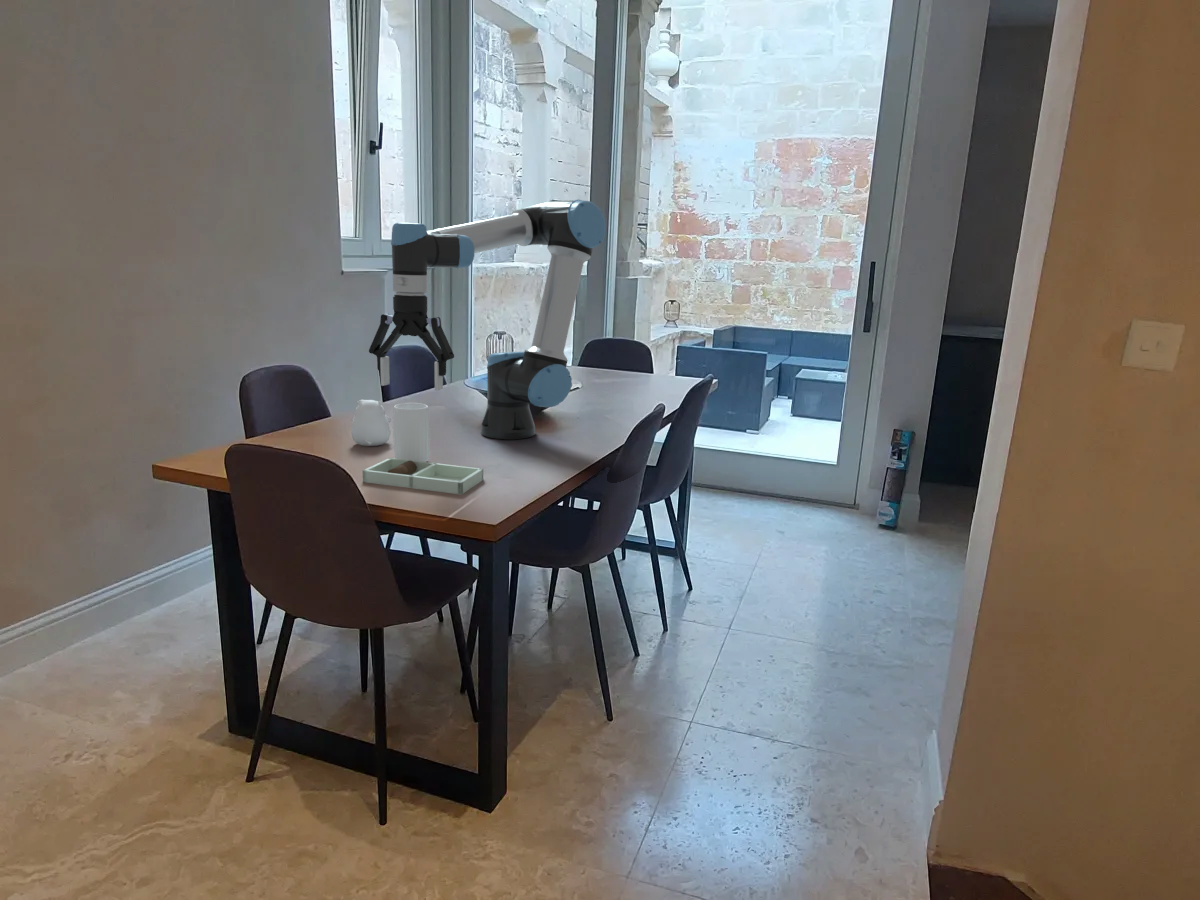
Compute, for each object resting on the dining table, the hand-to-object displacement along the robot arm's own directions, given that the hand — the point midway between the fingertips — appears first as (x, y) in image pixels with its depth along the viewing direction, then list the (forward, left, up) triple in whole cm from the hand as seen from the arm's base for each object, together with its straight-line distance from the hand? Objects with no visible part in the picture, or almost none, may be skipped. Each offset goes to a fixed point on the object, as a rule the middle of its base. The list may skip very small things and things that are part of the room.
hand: (411, 387), depth 182 cm
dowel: (+12, +3, -18) cm, 22 cm away
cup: (0, 0, -19) cm, 19 cm away
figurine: (-12, -18, -19) cm, 29 cm away
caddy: (+12, +9, -19) cm, 24 cm away
